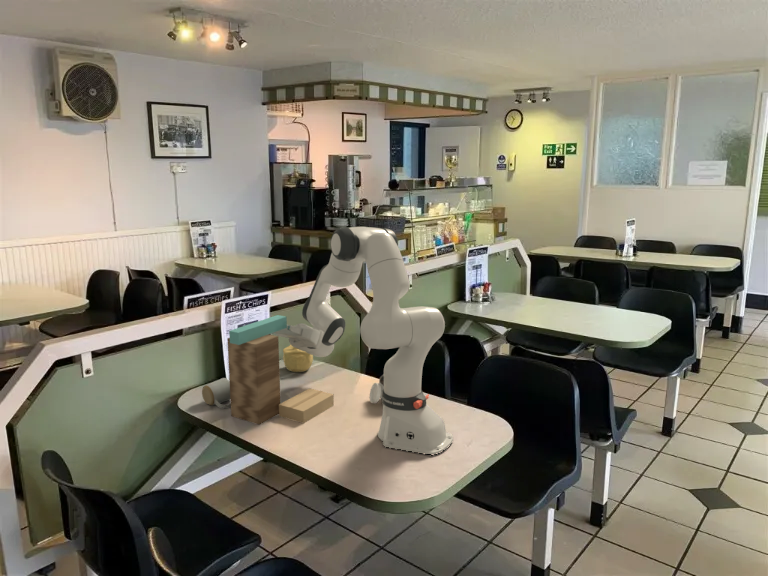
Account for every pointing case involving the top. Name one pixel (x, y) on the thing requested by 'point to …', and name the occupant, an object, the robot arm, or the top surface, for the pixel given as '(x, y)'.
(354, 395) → the top surface
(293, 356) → the sculpture
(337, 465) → the top surface
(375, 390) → the spread jar
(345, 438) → the top surface
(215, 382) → the ceramic mug
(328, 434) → the top surface
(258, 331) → the teal carton
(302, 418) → the kraft parcel
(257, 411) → the walnut stand
